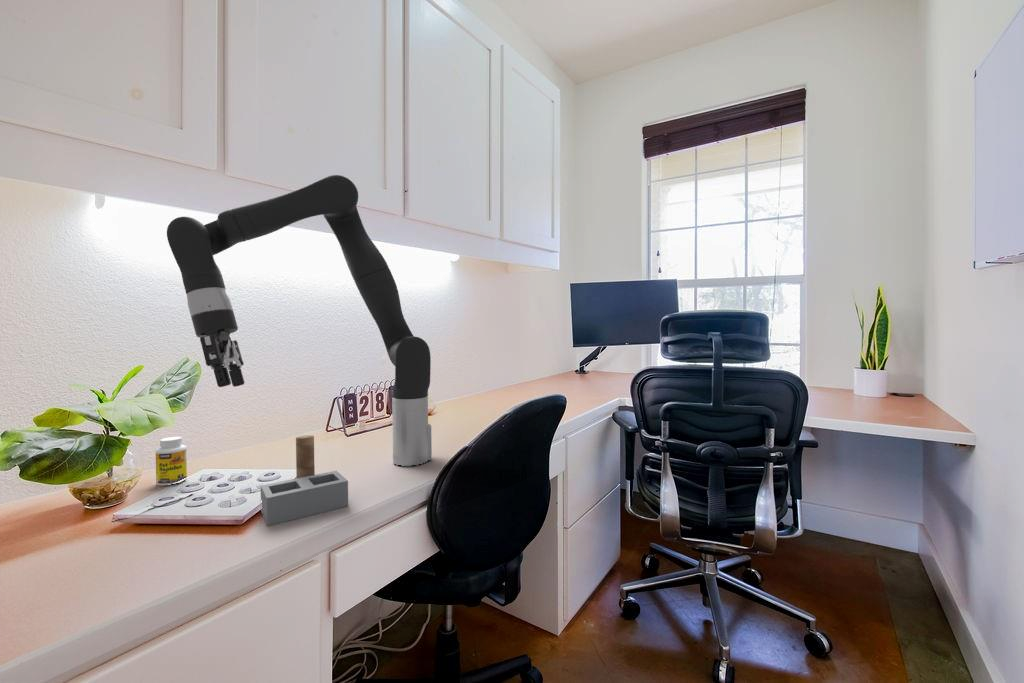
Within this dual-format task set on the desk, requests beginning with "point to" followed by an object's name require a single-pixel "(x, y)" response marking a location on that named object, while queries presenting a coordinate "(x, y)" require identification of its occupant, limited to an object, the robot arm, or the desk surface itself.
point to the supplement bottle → (171, 461)
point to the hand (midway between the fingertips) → (232, 385)
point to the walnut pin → (305, 456)
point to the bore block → (303, 497)
